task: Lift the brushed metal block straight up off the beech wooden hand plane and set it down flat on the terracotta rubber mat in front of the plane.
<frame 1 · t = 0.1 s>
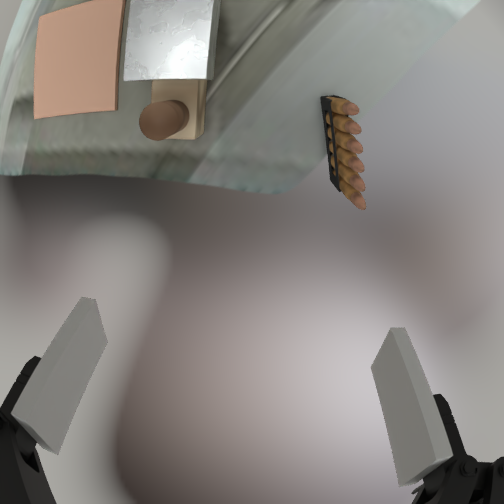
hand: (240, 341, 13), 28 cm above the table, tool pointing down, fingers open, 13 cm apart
brushed metal block: (178, 39, 25), point 5 cm above the table, touching plane body
plane body: (189, 45, 29), on the table
mat: (75, 57, 29), on the table
ammunition clip: (333, 138, 35), on the table
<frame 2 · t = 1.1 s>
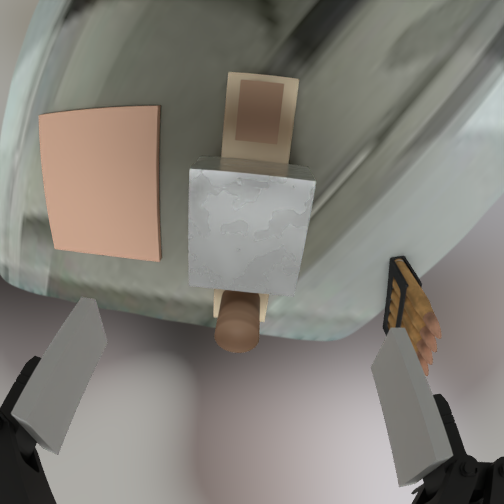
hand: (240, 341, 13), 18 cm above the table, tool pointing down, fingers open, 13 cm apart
brushed metal block: (249, 215, 25), point 5 cm above the table, touching plane body
plane body: (251, 194, 29), on the table
mat: (97, 184, 29), on the table
ammunition clip: (393, 293, 34), on the table
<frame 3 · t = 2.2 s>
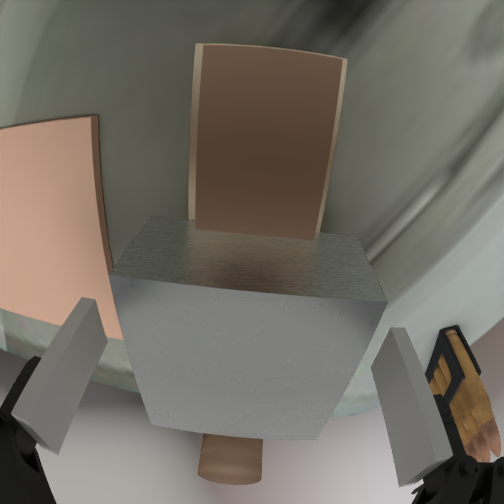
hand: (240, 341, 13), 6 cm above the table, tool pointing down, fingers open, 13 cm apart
brushed metal block: (245, 315, 14), point 5 cm above the table, touching plane body
plane body: (250, 257, 18), on the table
mat: (30, 234, 18), on the table
ammunition clip: (434, 365, 24), on the table
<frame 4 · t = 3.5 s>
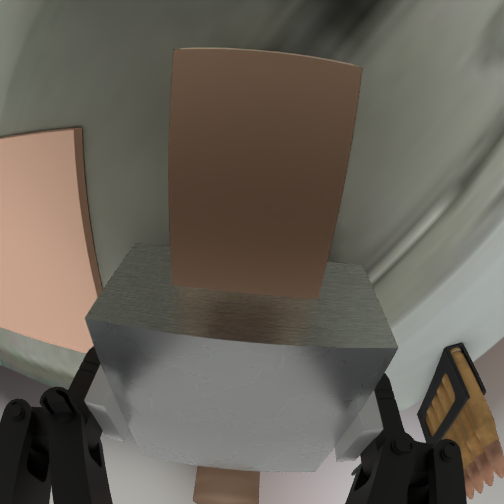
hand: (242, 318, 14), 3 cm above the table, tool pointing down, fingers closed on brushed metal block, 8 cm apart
brushed metal block: (240, 346, 13), point 5 cm above the table, touching gripper, plane body
plane body: (246, 279, 17), on the table
mat: (17, 251, 17), on the table
ammunition clip: (437, 381, 22), on the table
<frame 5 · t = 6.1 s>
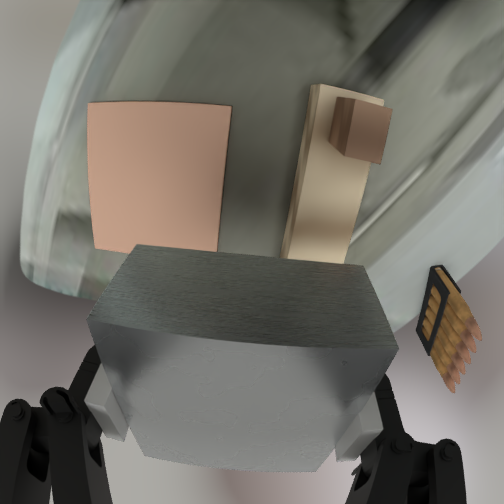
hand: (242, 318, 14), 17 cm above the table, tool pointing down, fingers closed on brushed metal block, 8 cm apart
brushed metal block: (241, 346, 13), point 19 cm above the table, touching gripper
plane body: (316, 203, 29), on the table
mat: (152, 182, 29), on the table
ammunition clip: (428, 299, 35), on the table
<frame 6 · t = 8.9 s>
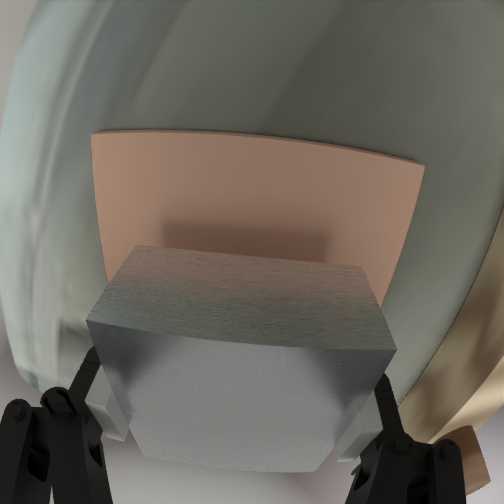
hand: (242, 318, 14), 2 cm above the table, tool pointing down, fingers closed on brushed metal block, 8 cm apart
brushed metal block: (240, 347, 13), point 3 cm above the table, touching gripper
plane body: (485, 309, 16), on the table
mat: (243, 296, 16), on the table
when the fingers open (2 cm above the table, at t = 9.1 s): brushed metal block drops 3 cm, resting on mat.
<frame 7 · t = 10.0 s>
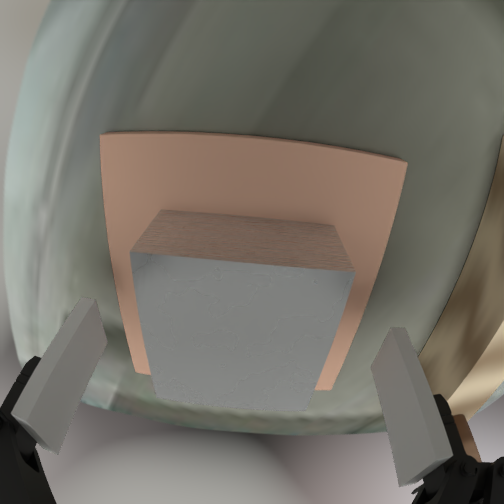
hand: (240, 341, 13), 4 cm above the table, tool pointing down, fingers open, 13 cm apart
brushed metal block: (240, 296, 16), point 1 cm above the table, touching mat
plane body: (473, 300, 17), on the table
mat: (240, 287, 17), on the table
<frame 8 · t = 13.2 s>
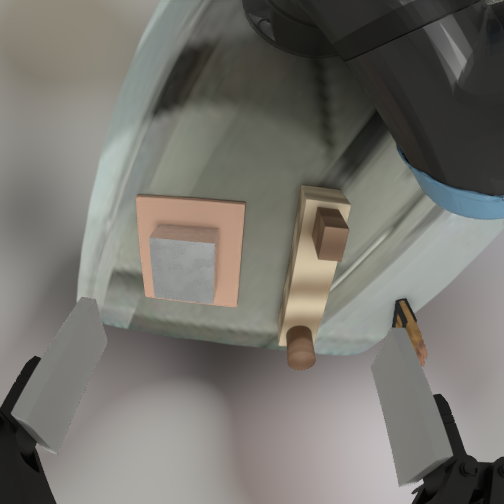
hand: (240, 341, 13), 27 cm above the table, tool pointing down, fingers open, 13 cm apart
brushed metal block: (188, 256, 41), point 1 cm above the table, touching mat
plane body: (306, 264, 42), on the table
mat: (189, 253, 42), on the table
ammunition clip: (397, 322, 48), on the table
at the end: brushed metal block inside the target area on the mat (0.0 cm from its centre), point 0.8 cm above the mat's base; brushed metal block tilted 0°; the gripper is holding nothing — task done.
